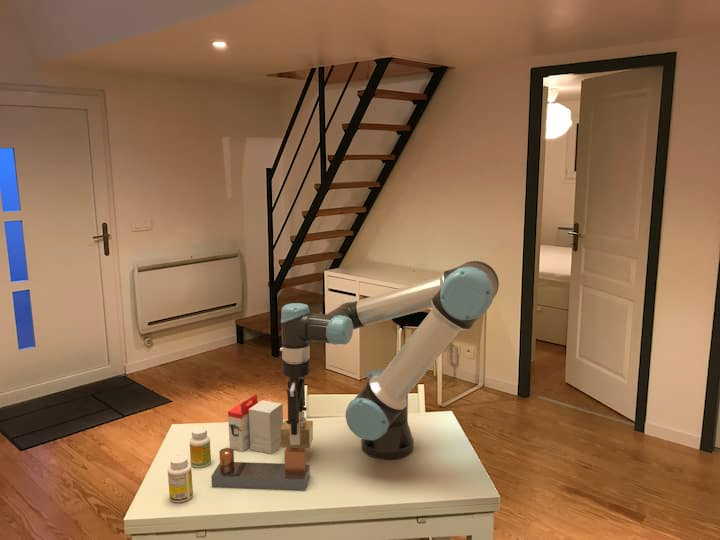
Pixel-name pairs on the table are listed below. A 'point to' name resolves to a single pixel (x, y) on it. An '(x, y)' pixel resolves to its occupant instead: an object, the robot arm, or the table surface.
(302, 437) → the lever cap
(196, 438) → the supplement bottle
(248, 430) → the ink box
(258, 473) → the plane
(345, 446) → the table surface
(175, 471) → the supplement bottle
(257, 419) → the supplement box
